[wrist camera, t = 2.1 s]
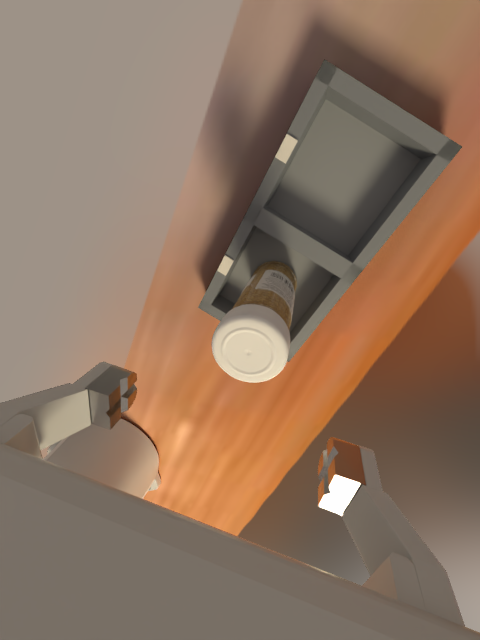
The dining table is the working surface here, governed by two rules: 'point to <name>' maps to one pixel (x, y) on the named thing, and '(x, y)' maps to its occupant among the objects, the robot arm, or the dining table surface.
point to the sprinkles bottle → (258, 326)
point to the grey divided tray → (331, 197)
